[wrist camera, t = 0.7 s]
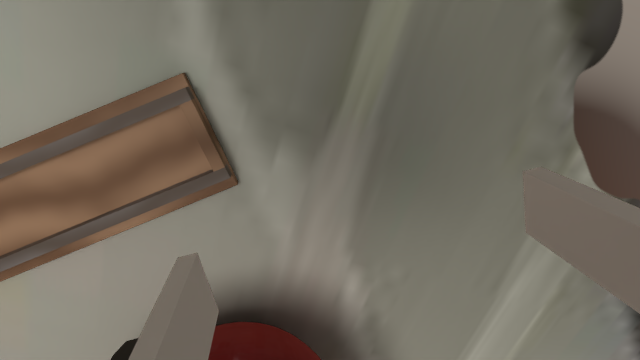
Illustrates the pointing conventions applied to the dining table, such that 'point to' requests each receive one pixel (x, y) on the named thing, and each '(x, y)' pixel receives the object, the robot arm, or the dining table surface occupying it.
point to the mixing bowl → (257, 343)
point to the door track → (106, 174)
